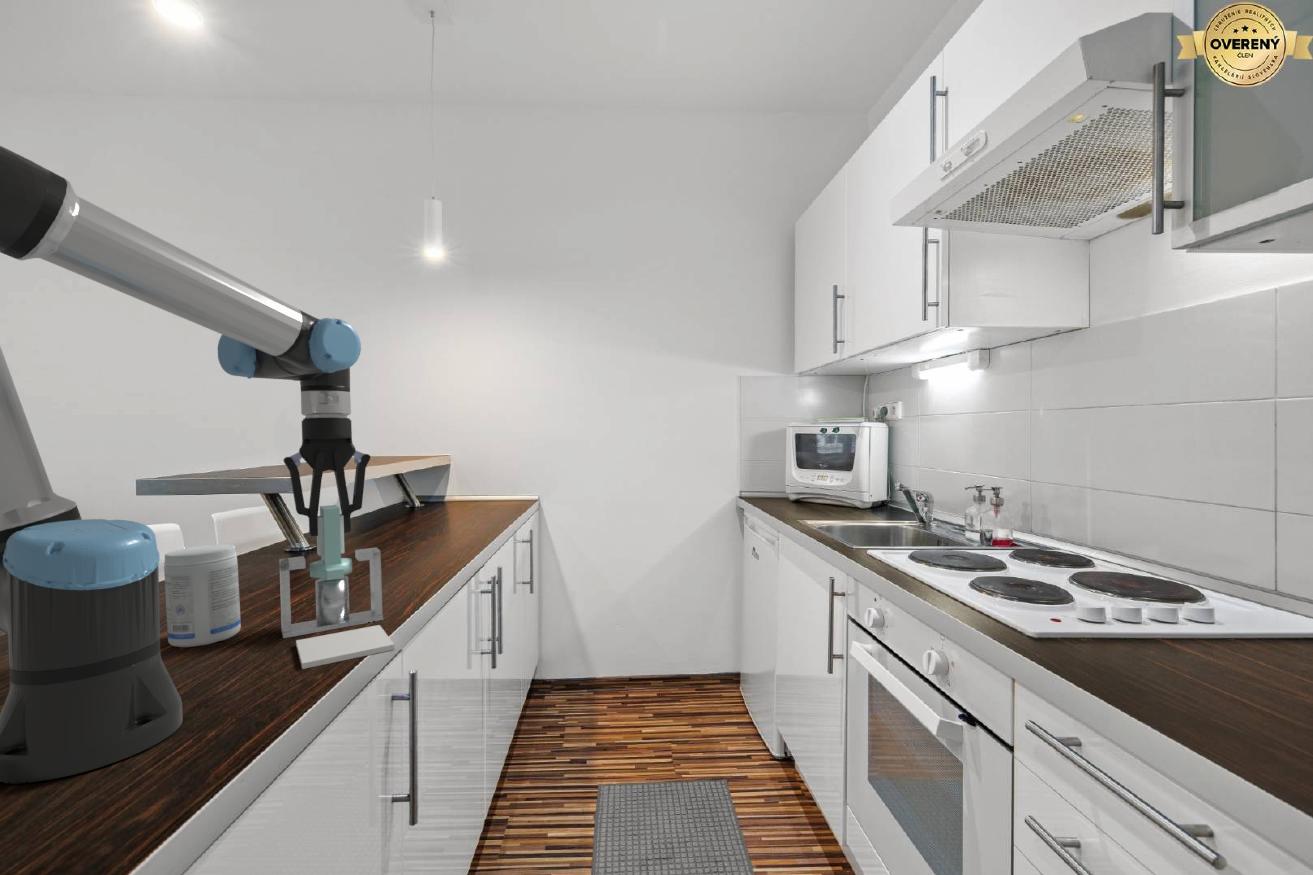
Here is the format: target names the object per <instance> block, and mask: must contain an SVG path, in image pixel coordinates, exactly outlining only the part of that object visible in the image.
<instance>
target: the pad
mask: <svg viewBox="0 0 1313 875" xmlns="http://www.w3.org/2000/svg"><path fill="white" fill-rule="evenodd" d="M295 646H296V650H297V653H298V658H299V661H300V667H301V669H302V670H306V669H308V668H314V667H320V666H324V665H328V664H333V663H337V662H342V661H347V660H352V659H356V658H362V657H366V656H371V655H375V654H380V653H384V652H390V651H395V643H394V642H393V640H392V639H391V638H390V636H388V634H387V632H386V631H385V630H384V628H383V627H382V626H381V625H380V624H378V625H372V626H365V627H362V628H356V629H350V630H344V631H340V632H339V631H338V632H335V633H328V634H325V635H318V636H313V637H308V638H302V639H296V640H295Z"/></svg>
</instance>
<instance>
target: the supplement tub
mask: <svg viewBox="0 0 1313 875" xmlns="http://www.w3.org/2000/svg"><path fill="white" fill-rule="evenodd" d="M163 565H164V566H163V568H164V569H163V571H164V572H163V574H164V591H165V593H164V594H165V608H166V610H165V611H166V625H167V626H166V627H167V628H166V629H167V641H168V644H170V646H173V647H176V648H177V647H178V648H191V647H192V648H195V647H200V646H208V645H211V644H213V643H214V644H215V643H217V642H221V641H225V640H227V639H230V638H232V637H234V636H235V635H237V634H238V633H239V632H240V630H241V628H242V627H241V621H242V620H241V604H240V589H239V588H240V586H239V584H240V583H239V568H238V556H237V552H236V545H234V544H210V545H208V544H207V545H201V546H193V547H185V548H181V549H175V550H172V551H169V552H166V553H165V554H164V562H163Z"/></svg>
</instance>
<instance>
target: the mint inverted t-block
mask: <svg viewBox="0 0 1313 875" xmlns="http://www.w3.org/2000/svg"><path fill="white" fill-rule="evenodd" d="M340 511H341V507H340V506H338V505H336V504H330V505H328V504H327V505H319V516H322V517H323V542H324V556H320V560H317V561H313V562H310V563H309V576H310V578H313V579H314V578H315V579H320V578H326V579H327V580H334V579H341V578H344V576H346V575H349V574H351V573H352V572H353V558H349V557H348V558H347V557H342V553H341V536H340V514H341V512H340Z"/></svg>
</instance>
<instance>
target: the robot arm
mask: <svg viewBox="0 0 1313 875" xmlns="http://www.w3.org/2000/svg"><path fill="white" fill-rule="evenodd" d="M0 254H3V255H6V256H9V257H10V258H13V259H16V260H17V261H26V260H30V259H41V260H43V261H46V262H49V263H51V264H53V265H55V266H58V267H60V268H62V269H65V270H67V271H70V272H72V273H74V274H77V275H80V276H82V277H84V278H87V279H89V280H92V281H93V282H96V283H99V284H101V285H104V286H106V287H108V288H110V289H113V290H115V291H118V292H120V293H122V294H125V295H127V296H130V297H132V298H135V299H137V300H139V301H141V302H144V303H146V304H148V305H151V306H153V307H156V308H158V309H159V310H160V309H161V310H163V311H166V312H168V313H170V314H173V315H174V316H178V317H180V318H182V319H184V320H187V321H190V322H192V323H194V324H196V325H200V326H201V327H204V328H206V329H209V330H211V331H213V332H216V333H218V334H220V338H219V340H218V343H217V359H218V363H219V365H220V367H221V369H222V370H223V371H224V372H225V373H227V374H228V375H230V376H234V377H242V378H243V377H244V378H247V379H249V380H250V379H252V378H253V379H270V380H288V381H295V382H296V381H297V382H298V381H299V383H300V384H299V385H300V408H301V410H300V411H301V415H302V416H305V417H304V418H303V419H302V420H301V439H302V440H301V442H302V443H301V446H300V447H299V450H298V451H297V453H294V454H293V455H292V454H291V455H290V456H286V457H284V458H283V459H282V460H283V463H284V465H285V466H286V468H287V469H288V470H289V475H290V476H289V477H290V482H291V483H290V484H291V488H292V493H293V500H294V505H295V511H296V513H297V515H301V516H306V517H307V519H308V529H309V530H308V533H309V535H310V536H311V537H316V550H317V552H316V553H317V555H318V557H321V556H324V542H323V517H322V516H320V515H319V509H320V499H321V498H320V497H321V490H322V489H321V488H322V480H323V474H324V472H327V471H332V472H333V473H334V476H335V478H334V479H335V484H336V488H337V493H338V494H337V495H338V501H339V508H340V511H341V512H340V536H341V554H345V553H346V552H345V534H346V533H347V534H348V533H350V532H351V530H352V528H351V527H352V526H351V515H352V514H353V513H354V512H356V511H358V510H361V509H362V508H363V499H364V498H363V497H364V489H365V488H364V487H365V481H366V480H365V476H366V469H367V468H366V467H367V466H368V464H369V462H370V461H371V455H370V454H368V453H363V452H360V451H358V450H356V446H355V445H354V443H353V437H352V436H353V433H352V432H353V431H352V428H353V427H352V420H351V418H350V417H349V418H348V416H350V415H351V414H352V409H351V408H352V406H351V405H352V404H351V372H350V371H351V367H353V366H354V365H355V364H356V363H357V361H358V360H359V358H360V355H361V351H362V342H361V338H360V336H359V334H358V332H357V330H356V329H355V327H354V326H352V325H351V324H350V323H349V322H347V321H345V320H343V319H341V318H329V317H326V318H324V317H323V318H321V319H319V318H317V317H315V316H313V315H311V314H309V313H307V312H304V311H303V310H301V309H299V308H297V307H295V306H293V305H291V304H289V303H287V302H285V301H283V300H281V299H279V298H278V297H276V296H273V295H271V294H269V293H267V292H266V291H263V290H262V289H260V288H258V287H256V286H254V285H252V284H250V283H248V282H246V281H244V280H242V279H240V278H238V277H236V276H234V275H232V274H230V273H229V272H226V271H224V270H222V269H221V268H219V267H217V266H215V265H213V264H211V263H209V262H207V261H205V260H203V259H201V258H199V257H197V256H195V255H194V254H191V253H190V252H188V251H186V250H184V249H181V248H180V247H178V246H176V245H174V244H172V243H170V242H168V241H166V240H164V239H163V238H160V237H159V236H157V235H154V234H153V233H150V232H149V231H147V230H145V229H142V228H141V227H139V226H136V225H135V224H133V223H131V222H129V221H127V220H125V219H123V218H122V217H119V216H117V215H115V214H113V213H111V211H108V210H106V209H104V208H102V207H100V206H98V205H96V204H94V203H92V202H90V201H88V200H87V199H84V198H82V197H80V196H78V195H77V193H76V192H75V189H74V188H73V186H72V184H71V182H70V181H69V180H68V179H66V178H65V177H63V176H60V175H59V174H57V173H56V172H53V171H51V170H49V169H47V168H46V167H43V166H42V165H40V164H38V163H36V162H34V161H33V160H30V159H28V158H26V157H24V156H22V155H20V154H18V153H16V152H14V151H12V150H10V149H8V148H6V147H4V146H2V145H0ZM32 432H33V431H32V430H31V427H30V424H29V421H28V419H27V416H26V414H25V411H24V407H23V404H22V403H21V398H20V397H19V394H18V391H17V388H16V385H15V383H14V380H13V377H12V374H11V372H10V368H9V365H8V363H7V360H6V358H5V356H4V353H3V350H2V346H0V634H1V633H2V634H5V635H8V636H7V639H8V663H9V664H8V667H9V691H8V693H7V697H6V698H5V701H4V704H3V707H2V709H1V712H0V782H4V783H3V784H26V783H25V782H29V783H36V782H38V783H39V782H42V781H44V780H45V781H50V780H55V779H60V778H64V777H69V776H73V775H78V774H81V773H85V772H89V771H92V770H95V769H99V768H102V767H104V766H108V765H111V764H114V763H116V762H119V761H122V760H124V759H128V758H129V757H133V756H134V755H136V754H139V753H142V752H143V751H144V752H145V750H147V749H150V748H152V747H153V746H155V745H157V744H159V743H161V742H163V741H164V740H166V739H167V738H169V737H170V736H171V735H173V734H174V733H175V732H176V731H177V730H179V728H180V727H181V725H182V723H183V720H184V719H183V717H184V715H183V703H182V702H183V701H182V698H181V696H180V694H179V692H178V689H177V688H176V686H175V684H174V682H173V679H172V678H171V675H170V674H169V671H168V669H167V667H166V666H165V663H164V661H163V659H162V655H161V653H162V652H161V633H160V632H161V630H160V629H161V627H160V626H161V625H160V623H161V622H160V583H159V582H160V581H159V580H160V578H159V576H160V575H159V563H160V561H161V560H160V552H159V550H158V546H157V545H158V544H157V537H156V534H155V532H154V531H153V530H152V529H151V528H150V527H149V526H147V525H146V524H144V523H141V522H138V521H133V520H125V519H124V520H123V519H103V518H99V519H97V518H92V519H88V518H87V519H82V516H81V513H80V511H79V508H78V505H77V502H75V500H74V501H73V500H71V499H69V498H65V497H63V496H60V495H58V494H56V492H54V490H53V487H52V484H51V482H50V479H49V476H48V474H47V471H46V469H45V466H44V462H43V459H42V457H41V454H40V452H39V449H38V447H37V443H36V441H35V438H34V436H33V433H32ZM353 457H354V458H353ZM352 458H353V459H354V460H353V461H354V463H355V464H356V466H355V475H354V484H353V486H354V487H353V493H352V494H353V496H352V503H350V501H349V500H350V499H349V493H348V488H347V486H348V485H347V481H346V475H345V474H346V473H345V467H346V465H347V464H348V463H349V462H350V460H351V459H352ZM301 459H303V460H304V461H305V462H306V463H307V465H308V466H309V467H310V468H311V469H312V475H311V477H312V479H311V485H310V486H311V487H310V494H309V503H308V507H306V506H305V500H304V495H303V494H304V492H303V488H302V484H301V483H302V482H301V476H300V471H299V468H298V467H300V466H301V464H302V463H301ZM8 782H10V783H8ZM13 782H14V783H13ZM16 782H17V783H16ZM19 782H20V783H19ZM21 782H22V783H21Z"/></svg>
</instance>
